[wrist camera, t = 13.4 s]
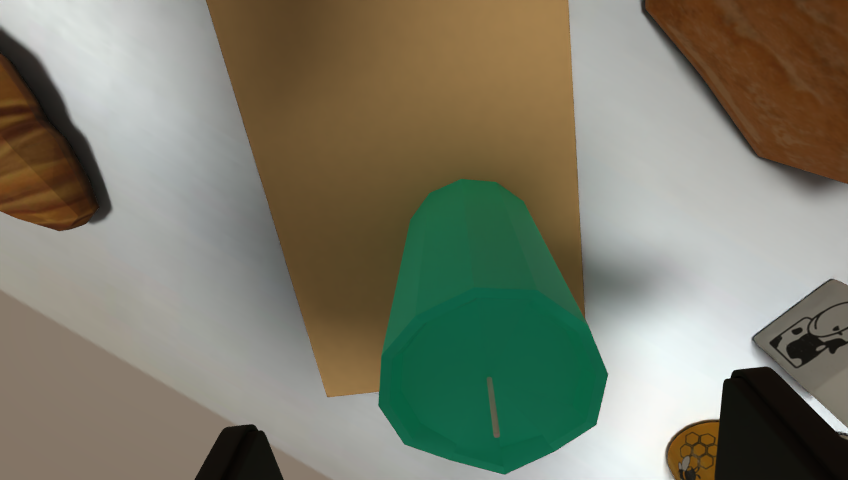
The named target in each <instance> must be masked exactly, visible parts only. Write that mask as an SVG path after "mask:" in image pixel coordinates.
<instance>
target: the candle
mask: <svg viewBox="0 0 848 480" xmlns="http://www.w3.org/2000/svg"><path fill="white" fill-rule="evenodd" d="M607 377H608V373H607V371H606V368H605V366H604V363H603V361H602V358H601V356H600V353H599V351H598V348H597V346H596V344H595V341H594V339H593V336H592V334H591V331H590V329H589V326H588V324H587V322H586V320H585V319H584V317H583V315H582V313H581V311H580V309H579V307H578V305H577V303H576V301H575V299H574V297H573V295H572V294H571V292H570V290H569V288H568V286H567V284H566V282H565V280H564V278H563V276H562V274H561V272H560V270H559V269H558V267H557V265H556V263H555V261H554V259H553V257H552V255H551V253H550V251H549V249H548V247H547V245H546V244H545V242H544V240H543V238H542V236H541V234H540V232H539V230H538V228H537V226H536V224H535V222H534V220H533V219H532V217H531V215H530V213H529V211H528V209H527V207H526V205H525V203H524V201H522V200H521V199H520V198H518V197H517V196H515V195H514V194H512V193H511V192H510V191H508V190H507V189H505V188H504V187H502V186H501V185H500V184H498V183H497V182H491V181H480V180H468V179H460V180H457V181H455V182H453V183H451V184H449V185H446V186H444V187H442V188H440V189H437V190H435V191H433V192H431V193H429V194H428V196H427V197H426V199H425V200H424V201H423V203H422V204H421V205H420V207H419V208H418V210H417V211H416V212H415V214H414V215H413V217H412V218H411V219H410V223H409V228H408V233H407V237H406V242H405V247H404V252H403V256H402V261H401V266H400V270H399V275H398V280H397V284H396V289H395V294H394V298H393V303H392V308H391V312H390V317H389V322H388V327H387V331H386V336H385V341H384V345H383V350H382V355H381V370H380V387H379V405H378V406H379V407H380V409H381V410H382V412H383V413H384V415H385V416H386V418H387V419H388V420H389V422H390V423H391V425H392V426H393V428H394V429H395V431H396V432H397V434H398V435H399V437H400V438H401V440H402V441H403V443H404V444H405V445H408V446H411V447H414V448H416V449H419V450H422V451H425V452H428V453H431V454H434V455H437V456H440V457H443V458H446V459H449V460H452V461H456V462H459V463H463V464H467V465H471V466H474V467H478V468H482V469H486V470H489V471H493V472H497V473H501V474H504V475H505V474H507V473H509V472H511V471H513V470H516V469H518V468H520V467H522V466H524V465H526V464H528V463H531V462H533V461H535V460H537V459H539V458H541V457H543V456H546V455H548V454H550V453H552V452H554V451H556V450H558V449H559V448H561V447H562V446H564V445H565V444H567V443H569V442H570V441H572V440H573V439H575V438H576V437H578V436H580V435H581V434H583V433H584V432H586V431H587V430H589V429H591V428H592V427H594V426H595V425H596V424H597V419H598V415H599V411H600V407H601V402H602V398H603V394H604V390H605V385H606V381H607Z"/></svg>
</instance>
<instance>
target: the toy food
mask: <svg viewBox="0 0 848 480" xmlns="http://www.w3.org/2000/svg"><path fill="white" fill-rule="evenodd" d="M754 341H755V342H756V343H757V344H758V345H759V346H760V347H761V348H762V349H763V350H764V351H765V352H766V353H767V354H768V355H769V356H770V357H772V358H773V359H774V360H775V361H776V362H777V363H778V364H779V365H780V366H781V367H782V368H783V369H784V370H785V371H786V372H788V373H789V374H790V375H791V376H792V377H793V378H794V379H795V380H796V381H797V382H798V383H799V384H800V385H801V386H802V387H804V388H805V389H806V390H807V391H808V392H809V393H810V394H811V395H812V396H813V397H815V398H816V399H817V400H818V401H819V402H820V403H821V404H822V405H823V406H824V407H825V408H827V409H828V410H829V411H830V412H831V413H832V414H833V415H834V416H835V417H836V418H837V419H839V420H840V421H841V422H842V423H843V424H844V425H845V426H846V427H847V428H848V286H847V285H846V284H844V283H842V282H840V281H837V280H831V281H829V282H827V283H826V284H825V285H823V286H822V287H820V288H819V289H818V290H816V291H815V292H813V293H812V294H811V295H809V296H808V297H807V298H805V299H804V300H803V301H801V302H800V303H799V304H798V305H796V306H795V307H794V308H792V309H791V310H790V311H788V312H787V313H785V314H784V315H783V316H781V317H780V318H779V319H777V320H776V321H775V322H773V323H772V324H771V325H769V326H768V327H767V328H765V329H764V330H763V331H761V332H760V333H759V334H758V335H756V336H755V338H754ZM718 432H719V422H708V423H703V424H699V425H696V426H693V427H691V428H689V429H687V430H685V431H684V432H682V433H681V434H680V435H678V436H677V437H676V438H675V440H674V441H673V442H672V443H671V445H670V448H669V451H668V465H669V468H670V470H671V472H672V474H673V476H674V478H675V479H676V480H715V479H714V474H715V464H716V453H717V443H718ZM840 436H841V437H843V438H845V439H847V440H848V436H845V435H840Z"/></svg>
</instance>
